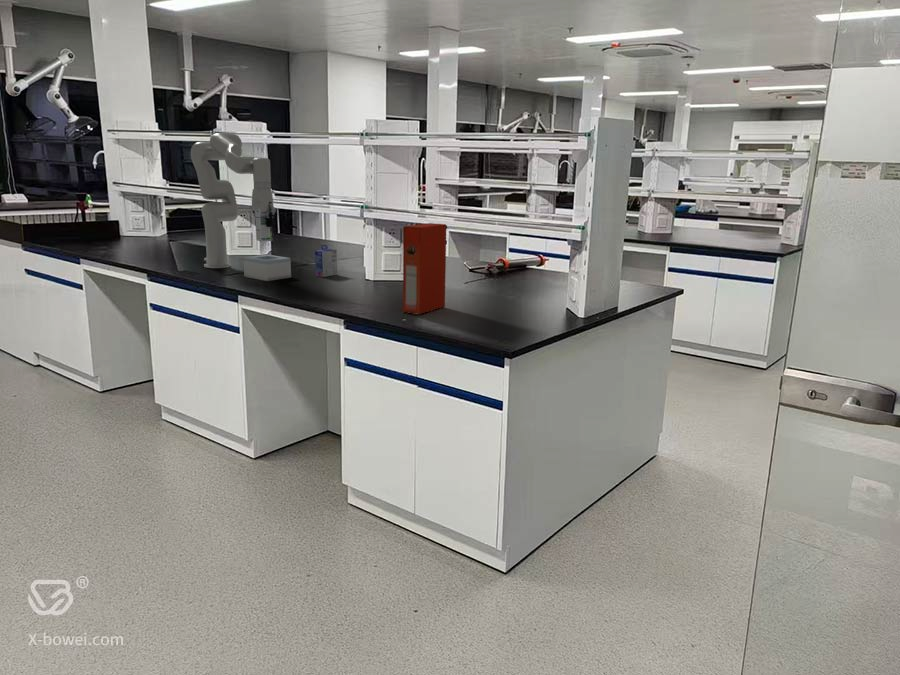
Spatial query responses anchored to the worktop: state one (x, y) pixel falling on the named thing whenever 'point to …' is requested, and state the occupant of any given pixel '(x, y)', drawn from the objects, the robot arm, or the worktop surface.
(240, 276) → the worktop surface
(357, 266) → the worktop surface
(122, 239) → the worktop surface
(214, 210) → the robot arm
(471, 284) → the worktop surface
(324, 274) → the ink cartridge box
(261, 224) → the syrup box
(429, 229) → the file binder
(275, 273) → the drop box
